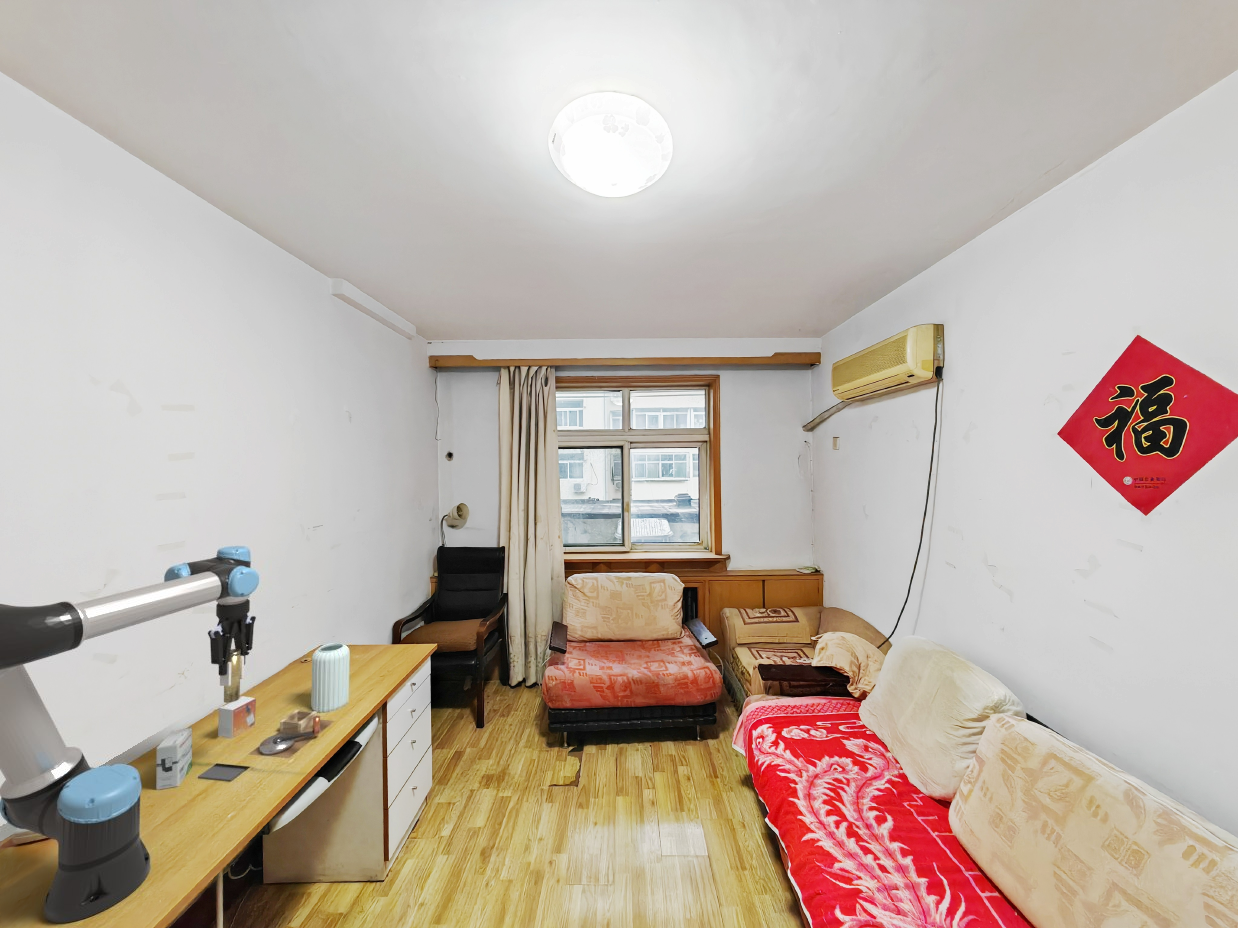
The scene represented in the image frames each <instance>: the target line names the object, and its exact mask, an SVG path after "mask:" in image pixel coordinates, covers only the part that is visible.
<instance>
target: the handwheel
mask: <svg viewBox="0 0 1238 928" xmlns="http://www.w3.org/2000/svg"><path fill="white" fill-rule="evenodd" d="M320 720H321V716H320V715H317V716H315V717H313V731H309V732H304V733H300V734H295V735H294V734H292V733H281V734H277V733H276V734H277V735H275V734H273V735H271V736H269V737H267V738H265V739H263V741H261V742H260V744H259V745H258V747H259V751H260V753H262V754H276V753H280V752H282V751H285V750H287V749H289V748H290V747H292V746H293V745H294V743H295V739H296V738H300V737H305V736H309V735H317V734H318V735H320V734H321V733H320ZM319 733H320V734H319ZM318 735H317V736H318Z"/></svg>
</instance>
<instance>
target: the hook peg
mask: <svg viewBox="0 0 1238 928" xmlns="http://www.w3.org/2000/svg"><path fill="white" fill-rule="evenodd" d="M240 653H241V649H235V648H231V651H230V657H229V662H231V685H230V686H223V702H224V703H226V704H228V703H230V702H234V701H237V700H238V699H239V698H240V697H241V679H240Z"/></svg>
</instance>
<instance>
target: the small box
mask: <svg viewBox="0 0 1238 928" xmlns="http://www.w3.org/2000/svg"><path fill="white" fill-rule="evenodd" d="M256 704H257V699H256V698H255V697H249V696H244V695H242V696H240V698H239V699H238V700H237V701H234V702H230V703H226V704H225V705H222V706H220V707H219V708H218V730H217V731H218V733H217V734H218V735H217V738H219V737H221V738H226V739H234V738H237V736H239V735H241V734H243V733H244V732H246V731H247V730H250V729H251V728H253V727H254V726H256V710H257V709H256V707H257V706H256Z"/></svg>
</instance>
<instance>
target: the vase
mask: <svg viewBox="0 0 1238 928" xmlns="http://www.w3.org/2000/svg"><path fill="white" fill-rule="evenodd" d="M350 653H351V651H350V648H349V647H348V646H347V645H346V644H343V643H341V642H331V643H327V644H324V645H321V646H319V647H318V648H317V649H316V650H315V651H314V652H313V654H312V657H311V659H312V660H311V696H310V697H311V701H310V705H311V708H312V711H317V713H327V712H329V713H330V712H334V711H336V710H339V709H340V708H343V707H344V706H346V704H348V702H349V699H350V697H349V696H350V695H349V694H350V660H351V659H350V655H351V654H350Z"/></svg>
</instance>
